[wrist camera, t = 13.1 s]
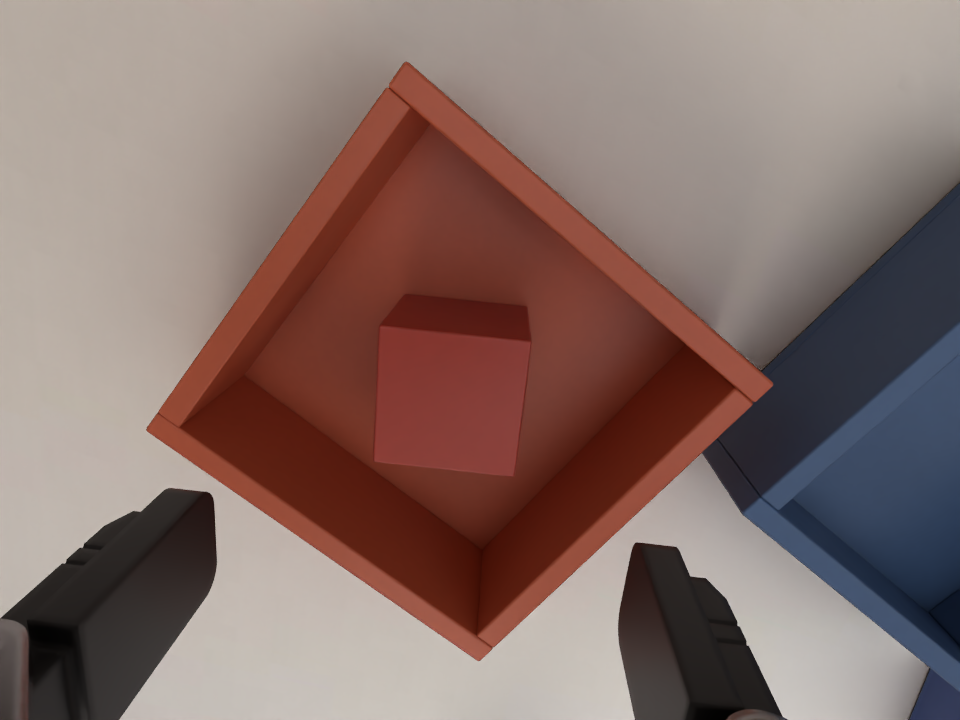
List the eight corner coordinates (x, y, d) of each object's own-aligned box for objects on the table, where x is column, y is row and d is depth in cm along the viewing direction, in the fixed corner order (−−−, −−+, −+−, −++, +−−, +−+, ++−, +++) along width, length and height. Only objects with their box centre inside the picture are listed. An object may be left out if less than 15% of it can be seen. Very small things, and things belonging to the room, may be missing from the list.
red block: (403, 292, 23) (378, 325, 18) (528, 305, 23) (532, 340, 18) (397, 408, 24) (372, 462, 20) (514, 420, 24) (514, 478, 20)
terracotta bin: (432, 84, 21) (405, 59, 16) (715, 333, 23) (776, 384, 18) (223, 372, 25) (144, 430, 19) (485, 562, 27) (478, 662, 21)
